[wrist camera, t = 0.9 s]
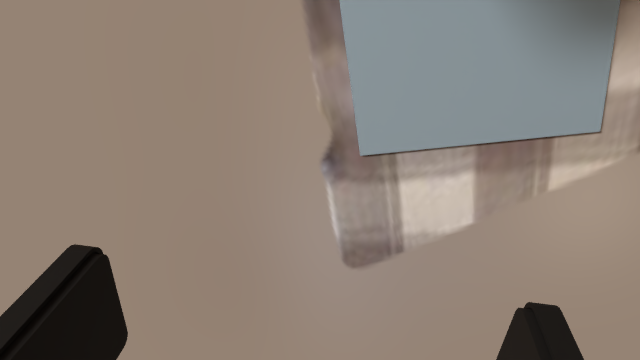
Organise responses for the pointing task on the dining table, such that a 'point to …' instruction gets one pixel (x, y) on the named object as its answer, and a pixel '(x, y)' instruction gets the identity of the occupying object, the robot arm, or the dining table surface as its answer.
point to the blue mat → (476, 70)
